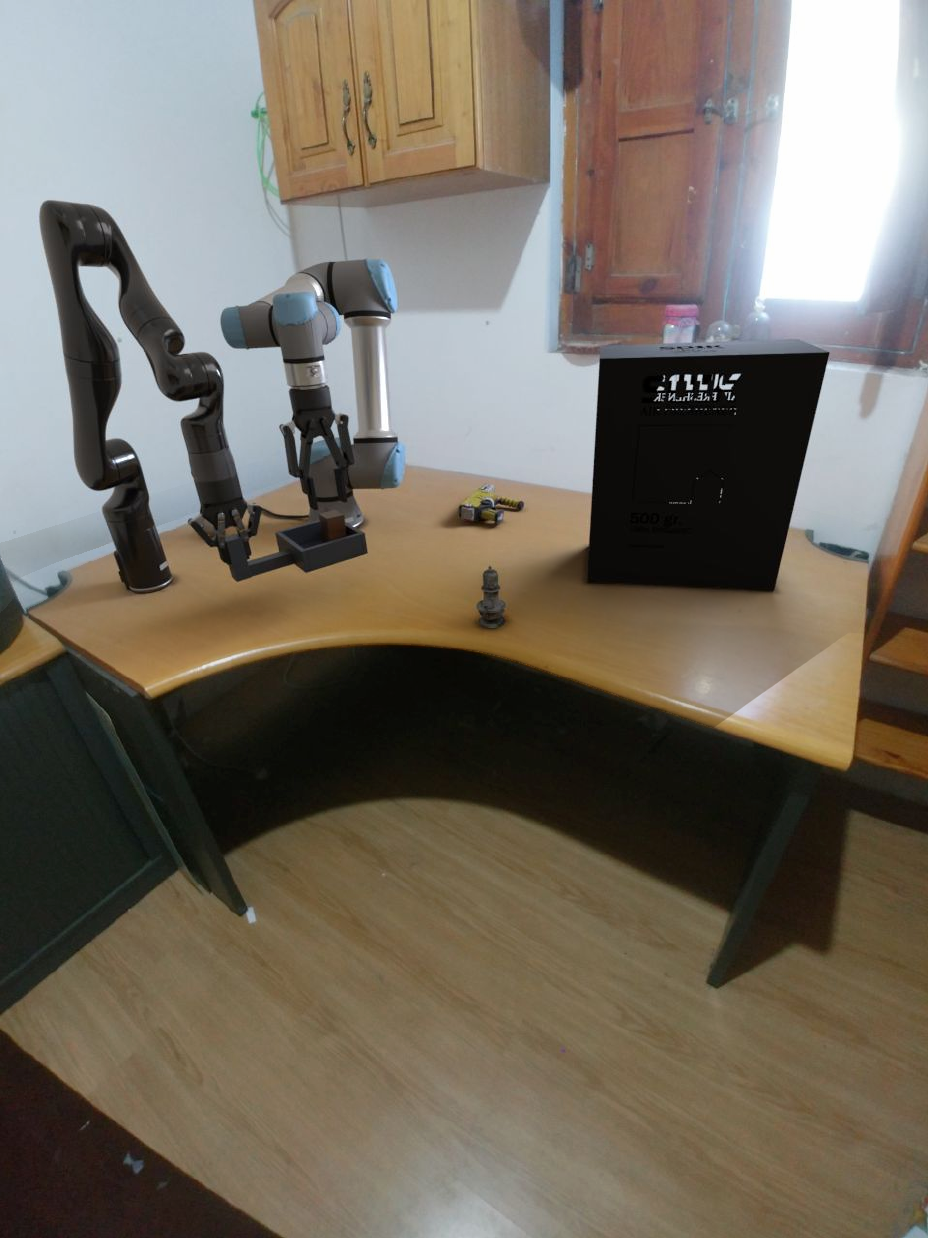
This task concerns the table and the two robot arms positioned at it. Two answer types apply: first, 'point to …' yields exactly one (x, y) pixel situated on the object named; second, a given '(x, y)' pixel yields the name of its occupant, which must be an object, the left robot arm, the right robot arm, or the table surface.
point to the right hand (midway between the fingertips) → (328, 504)
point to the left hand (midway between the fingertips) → (237, 560)
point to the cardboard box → (699, 461)
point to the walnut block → (332, 526)
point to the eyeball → (208, 528)
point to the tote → (296, 551)
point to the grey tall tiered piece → (491, 601)
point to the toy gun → (486, 505)
